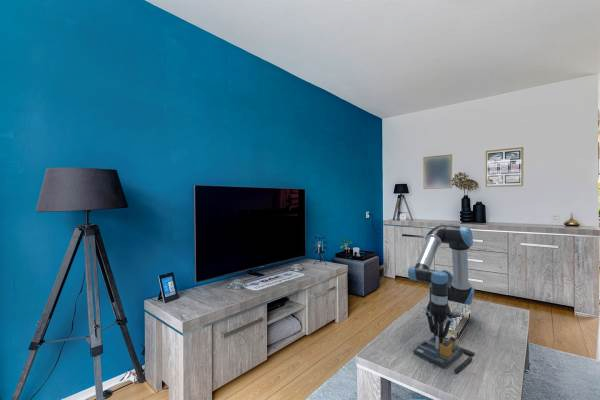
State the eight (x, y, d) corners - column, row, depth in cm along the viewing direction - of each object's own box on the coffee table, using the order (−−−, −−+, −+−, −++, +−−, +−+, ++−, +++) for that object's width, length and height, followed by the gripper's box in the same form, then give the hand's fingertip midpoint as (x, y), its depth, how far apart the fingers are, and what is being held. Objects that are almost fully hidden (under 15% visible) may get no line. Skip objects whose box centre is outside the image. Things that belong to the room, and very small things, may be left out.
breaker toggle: (443, 352, 142) (443, 340, 142) (451, 356, 139) (452, 343, 138) (439, 355, 139) (440, 342, 139) (448, 359, 136) (448, 346, 136)
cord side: (468, 359, 140) (468, 356, 140) (472, 360, 139) (472, 357, 138) (453, 372, 130) (453, 369, 130) (457, 374, 128) (457, 370, 128)
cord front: (434, 338, 160) (434, 335, 160) (474, 354, 144) (474, 351, 143) (431, 339, 158) (431, 337, 158) (472, 357, 141) (472, 354, 141)
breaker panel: (431, 341, 156) (432, 326, 156) (462, 354, 144) (462, 338, 143) (413, 353, 145) (413, 337, 145) (444, 369, 132) (445, 351, 132)
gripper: (422, 300, 144) (422, 344, 145) (448, 308, 134) (447, 356, 134) (430, 296, 149) (429, 340, 149) (455, 304, 138) (454, 351, 139)
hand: (438, 348), depth 142 cm, fingers closed
